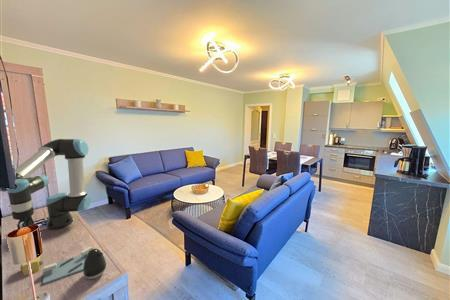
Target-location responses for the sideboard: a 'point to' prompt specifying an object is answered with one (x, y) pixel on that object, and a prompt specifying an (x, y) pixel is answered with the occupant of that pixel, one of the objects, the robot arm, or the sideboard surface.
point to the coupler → (32, 265)
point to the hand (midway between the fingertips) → (29, 245)
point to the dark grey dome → (94, 264)
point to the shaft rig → (65, 267)
